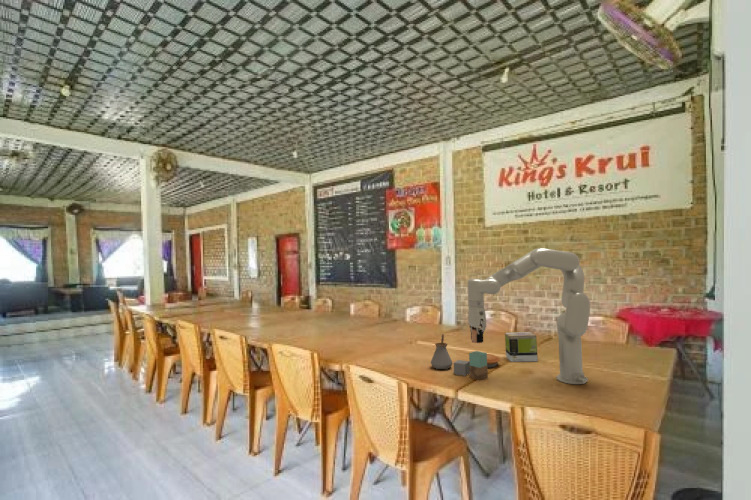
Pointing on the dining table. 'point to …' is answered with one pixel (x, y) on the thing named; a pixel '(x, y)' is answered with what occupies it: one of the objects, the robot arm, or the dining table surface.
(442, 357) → the coffee pot
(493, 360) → the pie
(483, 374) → the block
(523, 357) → the tea box
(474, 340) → the pink rounded piece
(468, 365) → the block
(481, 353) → the tower top
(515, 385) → the dining table surface
